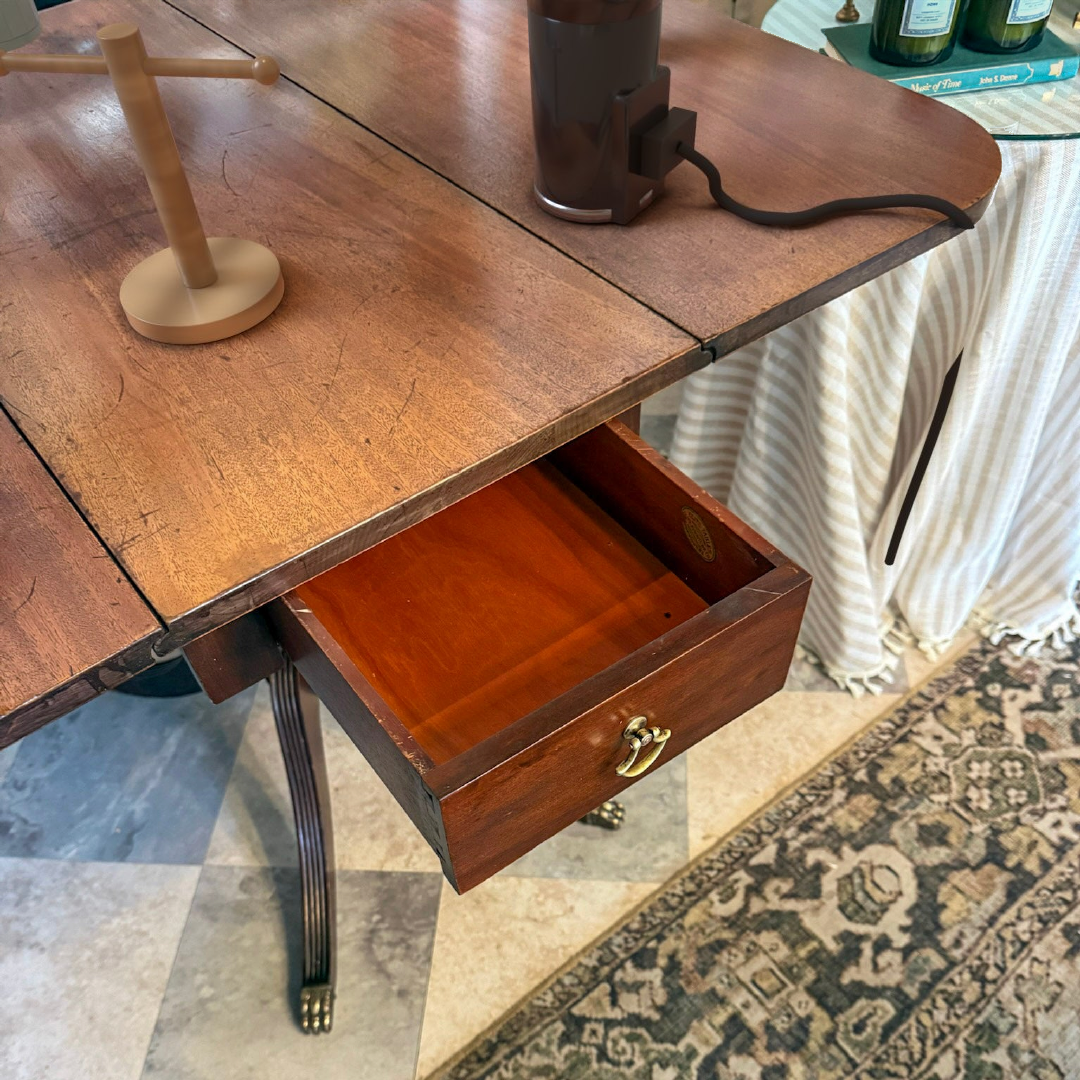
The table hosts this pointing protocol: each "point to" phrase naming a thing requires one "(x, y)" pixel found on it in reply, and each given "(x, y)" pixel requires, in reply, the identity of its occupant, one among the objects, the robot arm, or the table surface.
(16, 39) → the mug
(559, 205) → the robot arm
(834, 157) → the table surface
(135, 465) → the table surface
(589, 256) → the table surface
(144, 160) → the mug tree
